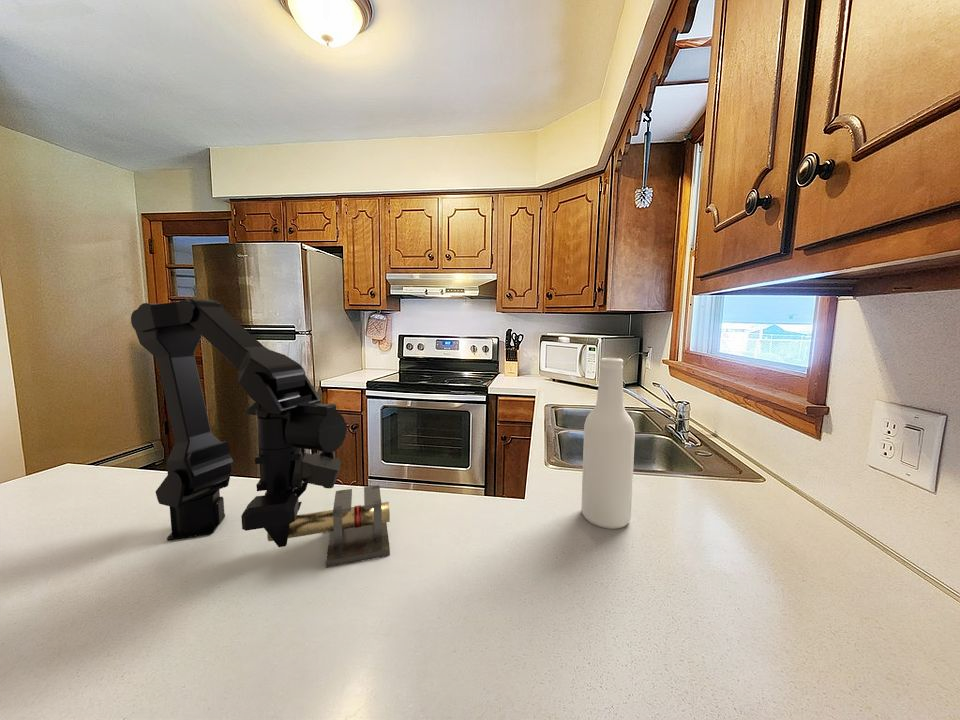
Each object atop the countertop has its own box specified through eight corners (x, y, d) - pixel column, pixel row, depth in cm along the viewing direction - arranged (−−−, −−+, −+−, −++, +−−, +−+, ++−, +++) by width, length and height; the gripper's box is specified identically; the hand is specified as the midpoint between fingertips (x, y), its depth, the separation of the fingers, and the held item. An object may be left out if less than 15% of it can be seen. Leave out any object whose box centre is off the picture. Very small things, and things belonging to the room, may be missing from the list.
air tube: (267, 546, 54) (266, 525, 54) (272, 534, 57) (271, 514, 57) (389, 526, 60) (389, 506, 59) (388, 516, 63) (387, 497, 63)
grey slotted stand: (326, 567, 53) (324, 520, 52) (332, 524, 64) (330, 485, 63) (389, 555, 56) (389, 510, 55) (385, 516, 67) (384, 478, 66)
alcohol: (624, 536, 61) (632, 362, 58) (574, 520, 66) (579, 359, 63) (635, 514, 68) (642, 358, 65) (589, 501, 73) (594, 355, 70)
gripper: (332, 459, 49) (335, 567, 50) (339, 423, 66) (342, 504, 68) (236, 469, 45) (244, 585, 47) (271, 428, 63) (276, 513, 64)
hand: (284, 539), depth 56 cm, fingers closed on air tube, 3 cm apart
